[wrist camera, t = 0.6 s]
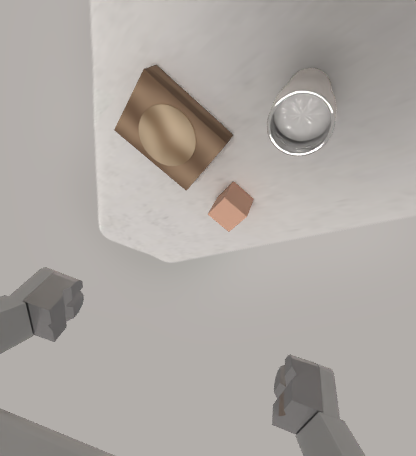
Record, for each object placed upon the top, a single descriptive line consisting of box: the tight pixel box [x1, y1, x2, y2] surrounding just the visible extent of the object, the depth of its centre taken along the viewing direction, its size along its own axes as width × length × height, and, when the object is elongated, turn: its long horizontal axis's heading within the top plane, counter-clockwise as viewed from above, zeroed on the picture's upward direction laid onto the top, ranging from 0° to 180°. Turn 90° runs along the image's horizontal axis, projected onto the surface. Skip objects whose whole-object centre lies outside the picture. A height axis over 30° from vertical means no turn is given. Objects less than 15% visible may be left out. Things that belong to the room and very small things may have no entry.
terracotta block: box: [208, 181, 254, 232], centre depth 52 cm, size 5×5×6 cm
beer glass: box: [267, 68, 337, 156], centre depth 35 cm, size 7×7×15 cm
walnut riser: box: [115, 65, 233, 190], centre depth 48 cm, size 12×16×4 cm
